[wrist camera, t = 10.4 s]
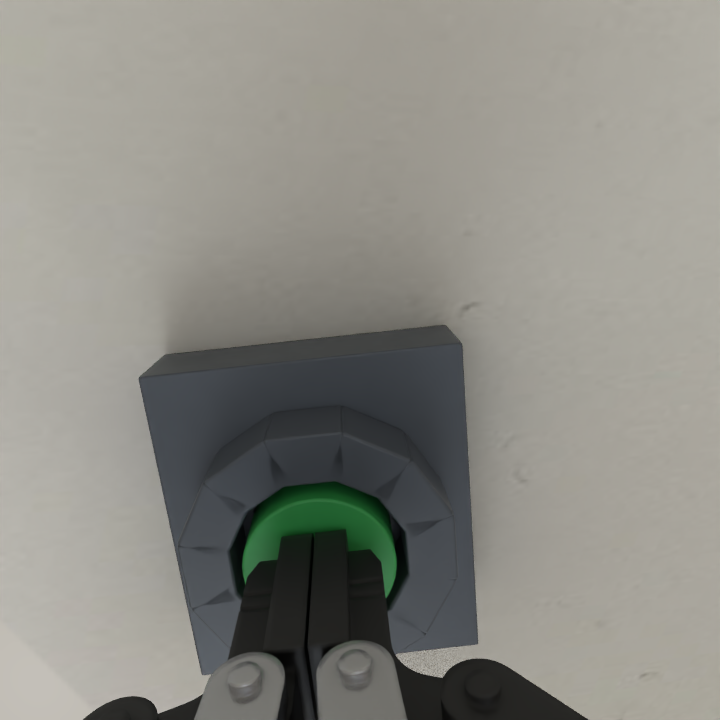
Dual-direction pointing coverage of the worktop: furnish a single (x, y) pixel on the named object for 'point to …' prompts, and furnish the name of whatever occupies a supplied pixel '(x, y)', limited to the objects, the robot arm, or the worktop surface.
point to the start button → (321, 523)
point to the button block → (319, 466)
